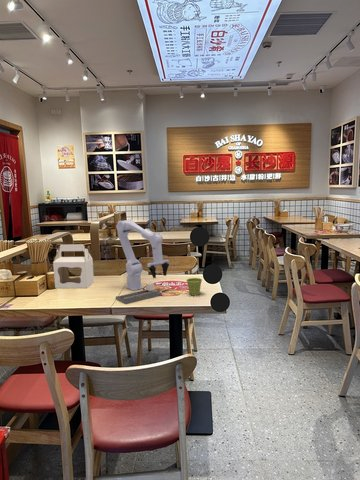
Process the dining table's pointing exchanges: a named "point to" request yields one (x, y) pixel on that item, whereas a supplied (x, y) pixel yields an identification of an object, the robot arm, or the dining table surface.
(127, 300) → the fader console
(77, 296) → the dining table surface
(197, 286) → the plant pot
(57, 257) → the gable box
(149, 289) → the fader tab
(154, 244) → the robot arm
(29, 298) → the dining table surface
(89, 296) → the dining table surface
